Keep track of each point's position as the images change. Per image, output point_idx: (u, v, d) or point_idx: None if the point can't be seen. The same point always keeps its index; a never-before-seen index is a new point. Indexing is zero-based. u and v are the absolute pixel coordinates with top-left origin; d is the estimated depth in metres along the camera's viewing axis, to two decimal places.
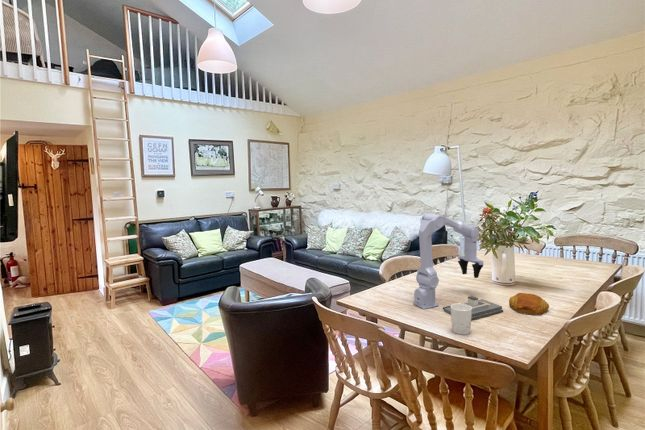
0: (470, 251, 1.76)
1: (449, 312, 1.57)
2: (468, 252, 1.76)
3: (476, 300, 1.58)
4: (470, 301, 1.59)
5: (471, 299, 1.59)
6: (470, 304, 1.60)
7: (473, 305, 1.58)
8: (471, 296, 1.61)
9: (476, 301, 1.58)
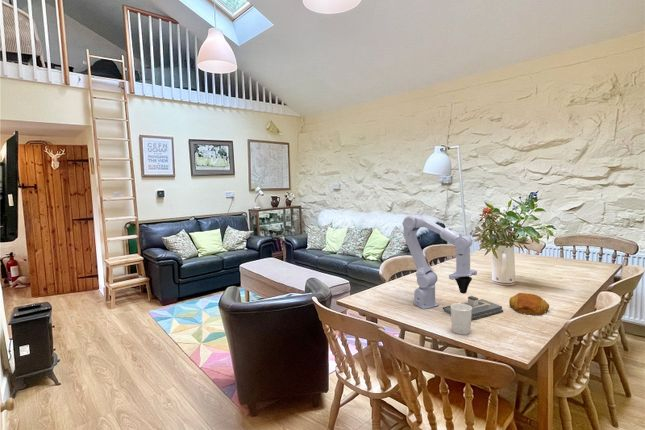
0: (456, 263, 1.56)
1: (449, 312, 1.57)
2: None
3: (476, 300, 1.58)
4: (470, 301, 1.59)
5: (471, 299, 1.59)
6: (470, 304, 1.60)
7: (473, 305, 1.58)
8: (471, 296, 1.61)
9: (476, 301, 1.58)
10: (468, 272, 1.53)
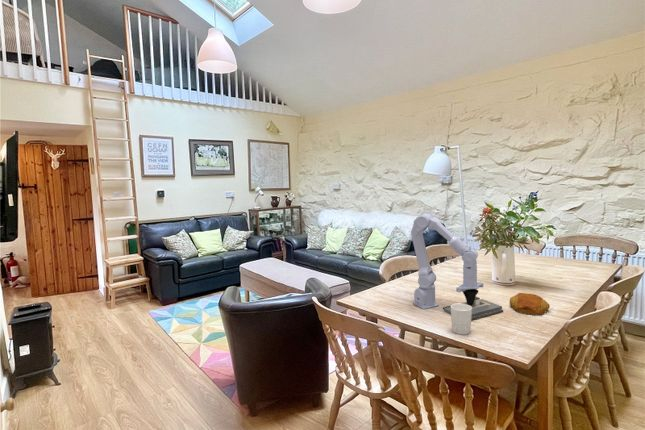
0: (463, 276, 1.59)
1: (449, 312, 1.57)
2: None
3: (477, 300, 1.58)
4: None
5: None
6: None
7: (474, 305, 1.58)
8: None
9: (477, 301, 1.58)
10: (475, 285, 1.55)
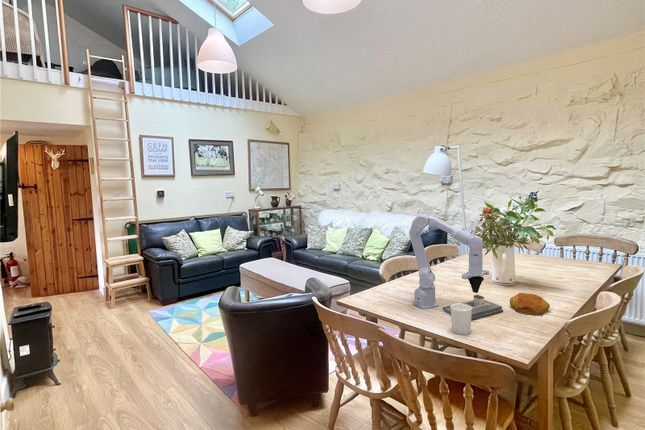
0: None
1: (449, 312, 1.57)
2: None
3: (482, 299, 1.59)
4: (476, 300, 1.61)
5: (477, 298, 1.60)
6: (476, 303, 1.61)
7: (479, 304, 1.59)
8: (477, 295, 1.62)
9: (482, 300, 1.59)
10: (480, 272, 1.56)
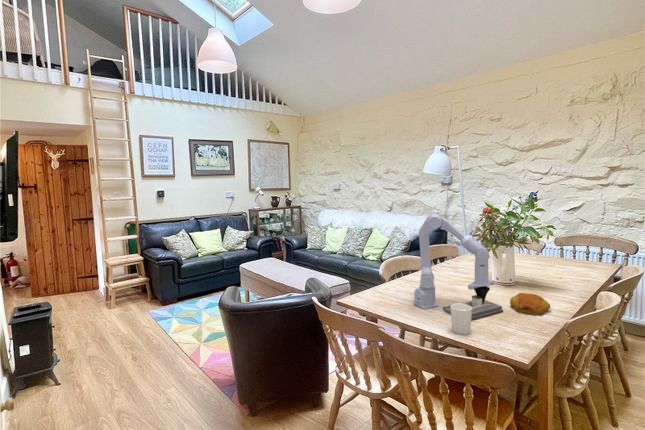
0: None
1: (449, 312, 1.57)
2: None
3: (480, 299, 1.59)
4: (474, 300, 1.60)
5: (475, 298, 1.60)
6: (474, 303, 1.61)
7: (477, 304, 1.59)
8: (475, 295, 1.62)
9: (480, 300, 1.59)
10: (486, 282, 1.58)
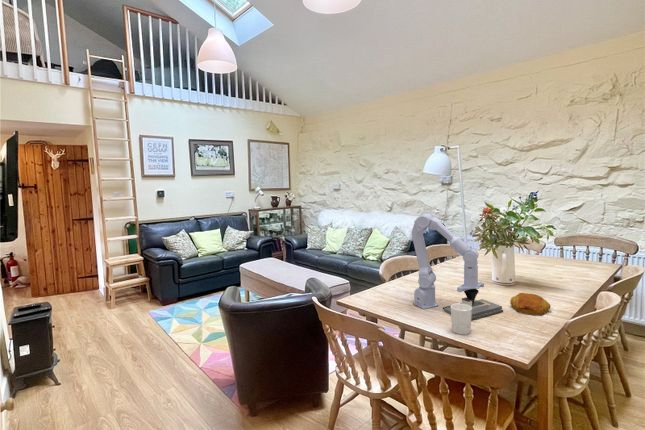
0: (464, 275, 1.59)
1: (449, 312, 1.57)
2: None
3: (470, 302, 1.56)
4: (464, 303, 1.58)
5: (465, 300, 1.57)
6: None
7: None
8: (465, 297, 1.59)
9: (470, 303, 1.56)
10: (476, 285, 1.56)
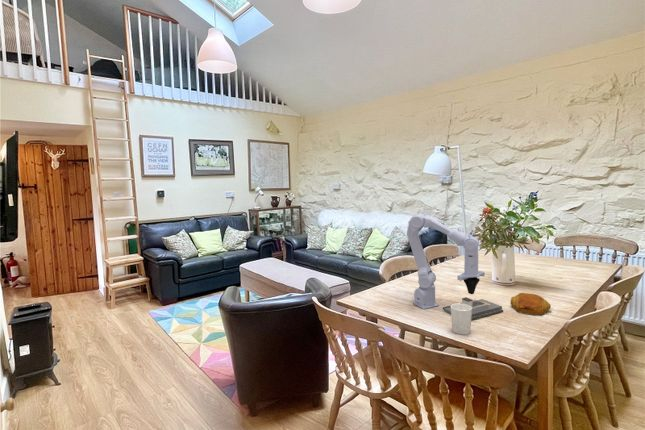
0: (464, 264, 1.58)
1: (449, 312, 1.57)
2: None
3: (470, 301, 1.56)
4: (464, 302, 1.58)
5: (465, 300, 1.57)
6: None
7: None
8: (465, 297, 1.59)
9: (470, 302, 1.57)
10: (476, 273, 1.55)
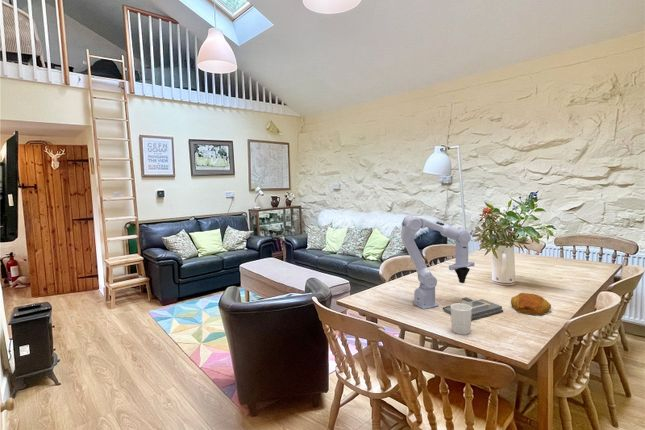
0: None
1: (449, 312, 1.57)
2: None
3: (470, 301, 1.56)
4: (464, 302, 1.58)
5: (465, 300, 1.57)
6: None
7: None
8: (465, 297, 1.59)
9: (470, 302, 1.57)
10: (466, 263, 1.66)
